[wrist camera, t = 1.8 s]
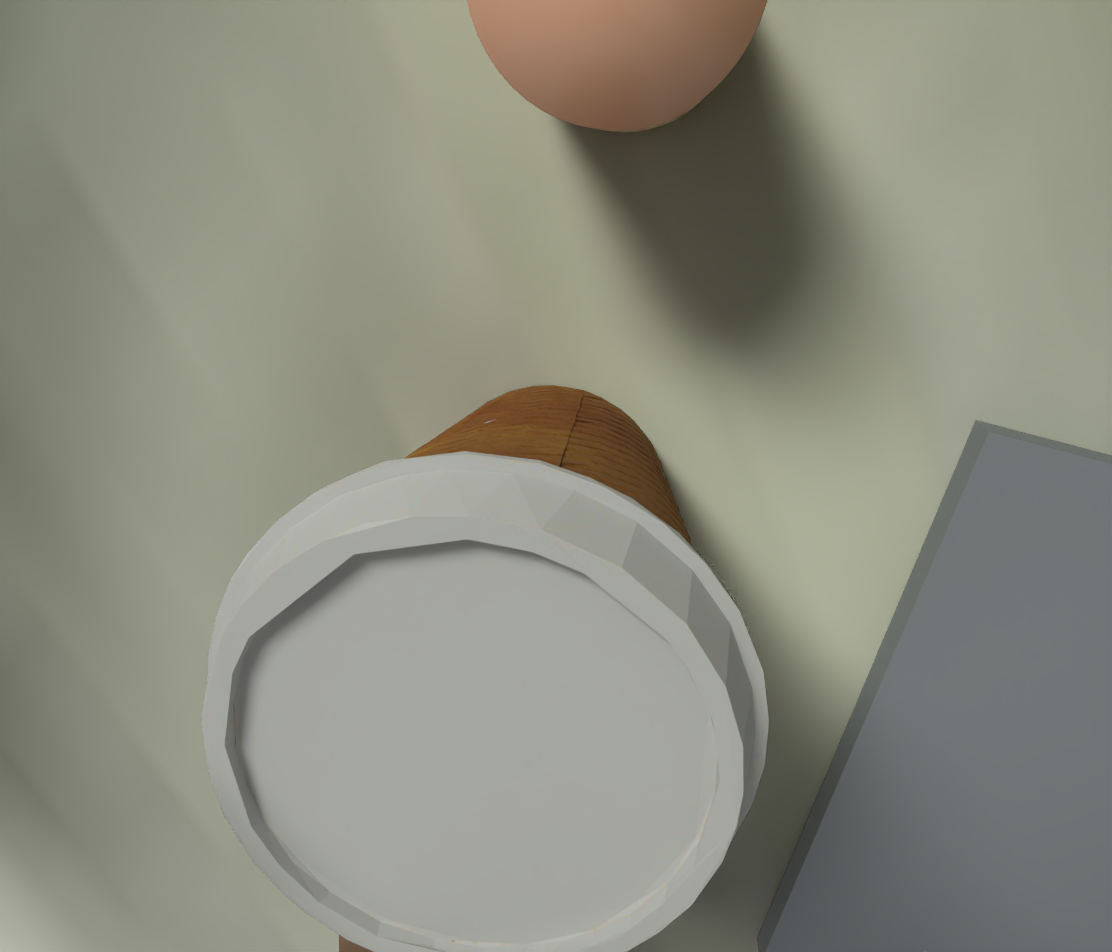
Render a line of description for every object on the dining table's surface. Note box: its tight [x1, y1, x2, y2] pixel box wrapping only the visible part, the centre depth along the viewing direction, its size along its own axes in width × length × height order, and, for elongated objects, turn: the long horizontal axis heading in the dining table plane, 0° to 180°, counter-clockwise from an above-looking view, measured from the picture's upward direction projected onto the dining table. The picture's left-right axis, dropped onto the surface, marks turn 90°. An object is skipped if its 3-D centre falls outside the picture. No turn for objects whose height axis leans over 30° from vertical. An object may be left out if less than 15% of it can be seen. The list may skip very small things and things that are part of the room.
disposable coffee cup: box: [201, 385, 769, 952], centre depth 20 cm, size 10×10×12 cm
